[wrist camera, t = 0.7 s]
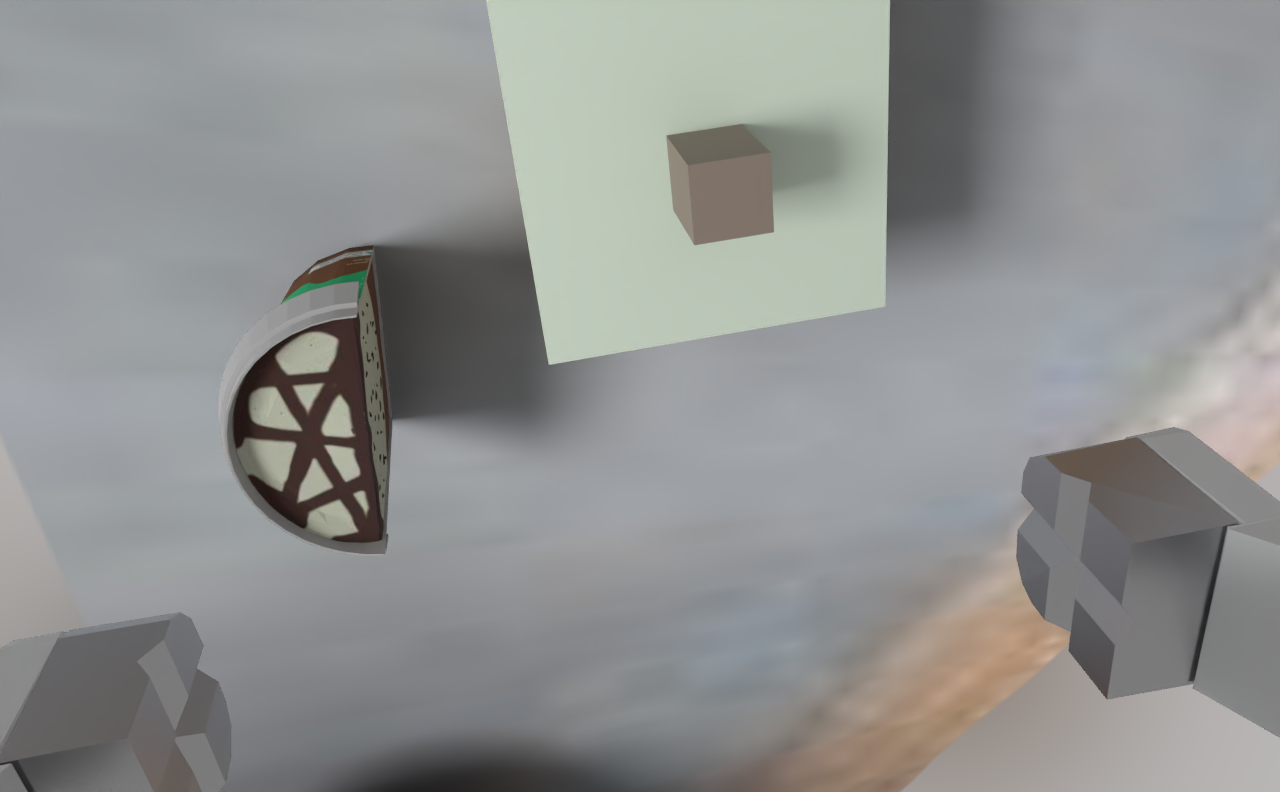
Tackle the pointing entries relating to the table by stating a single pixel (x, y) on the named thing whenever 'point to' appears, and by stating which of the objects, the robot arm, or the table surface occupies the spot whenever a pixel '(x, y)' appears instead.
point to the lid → (696, 163)
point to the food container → (315, 409)
